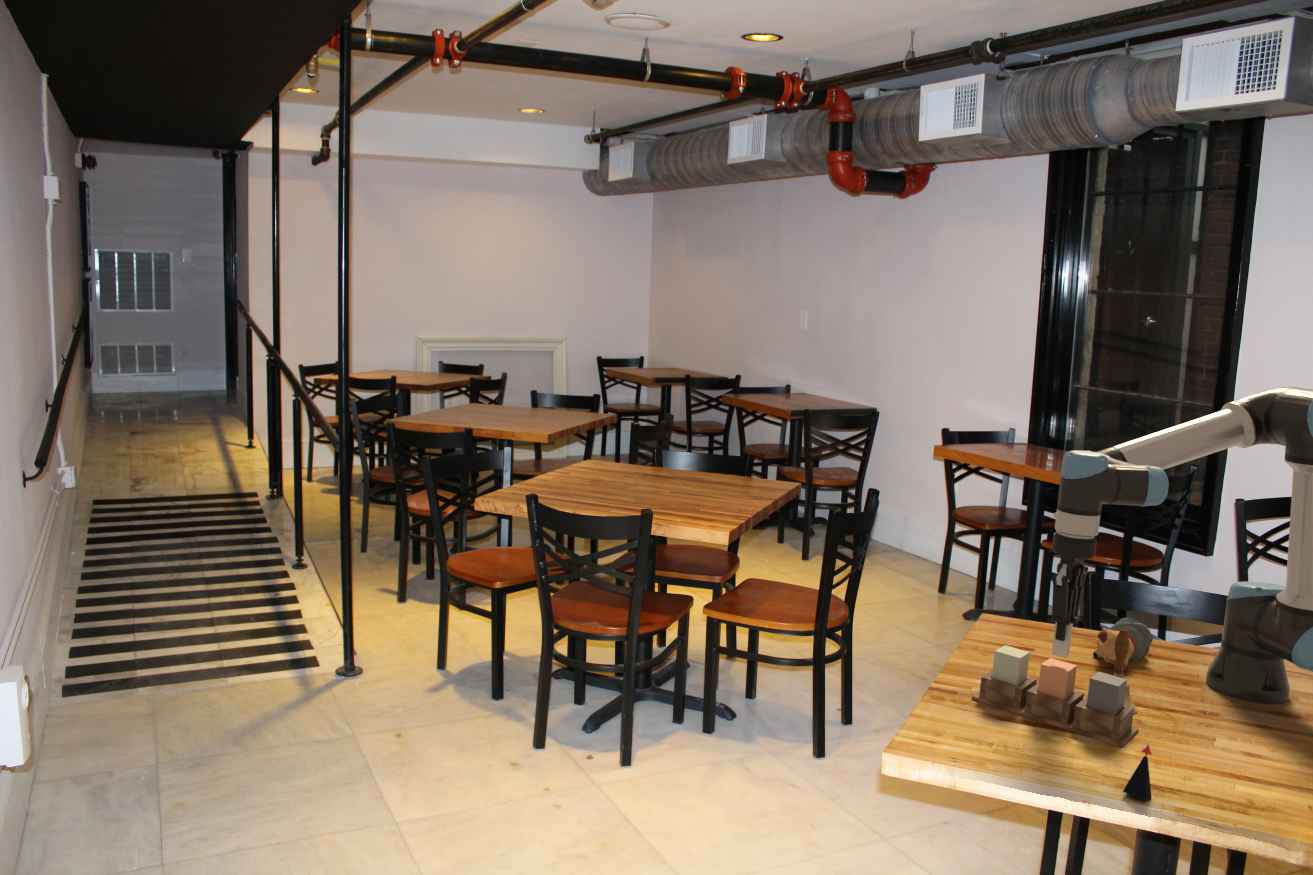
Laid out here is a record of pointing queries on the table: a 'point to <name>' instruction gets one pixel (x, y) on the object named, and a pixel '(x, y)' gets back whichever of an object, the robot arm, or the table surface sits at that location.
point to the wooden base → (1058, 710)
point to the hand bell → (1122, 662)
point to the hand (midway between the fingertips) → (1060, 655)
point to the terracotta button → (1057, 678)
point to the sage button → (1010, 665)
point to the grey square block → (1106, 693)
